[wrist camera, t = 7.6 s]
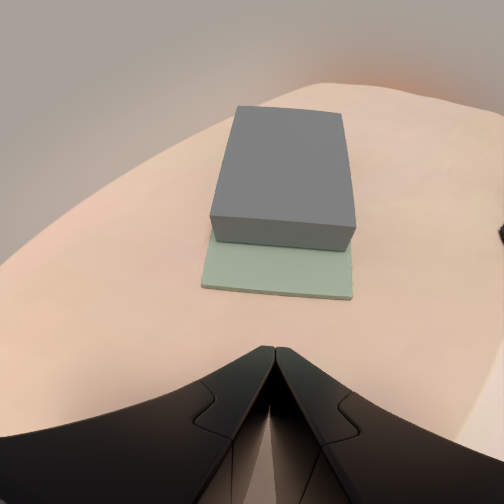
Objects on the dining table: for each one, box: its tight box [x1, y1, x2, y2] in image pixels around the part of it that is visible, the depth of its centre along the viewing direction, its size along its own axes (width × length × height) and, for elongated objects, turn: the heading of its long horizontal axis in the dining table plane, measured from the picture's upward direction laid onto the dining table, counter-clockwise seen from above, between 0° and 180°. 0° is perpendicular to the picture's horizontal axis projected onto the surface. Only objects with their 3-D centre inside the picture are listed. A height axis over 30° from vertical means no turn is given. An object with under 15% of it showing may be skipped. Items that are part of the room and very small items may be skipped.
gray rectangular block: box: [210, 106, 356, 251], centre depth 23 cm, size 3×9×12 cm
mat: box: [201, 227, 353, 300], centre depth 23 cm, size 14×10×1 cm
